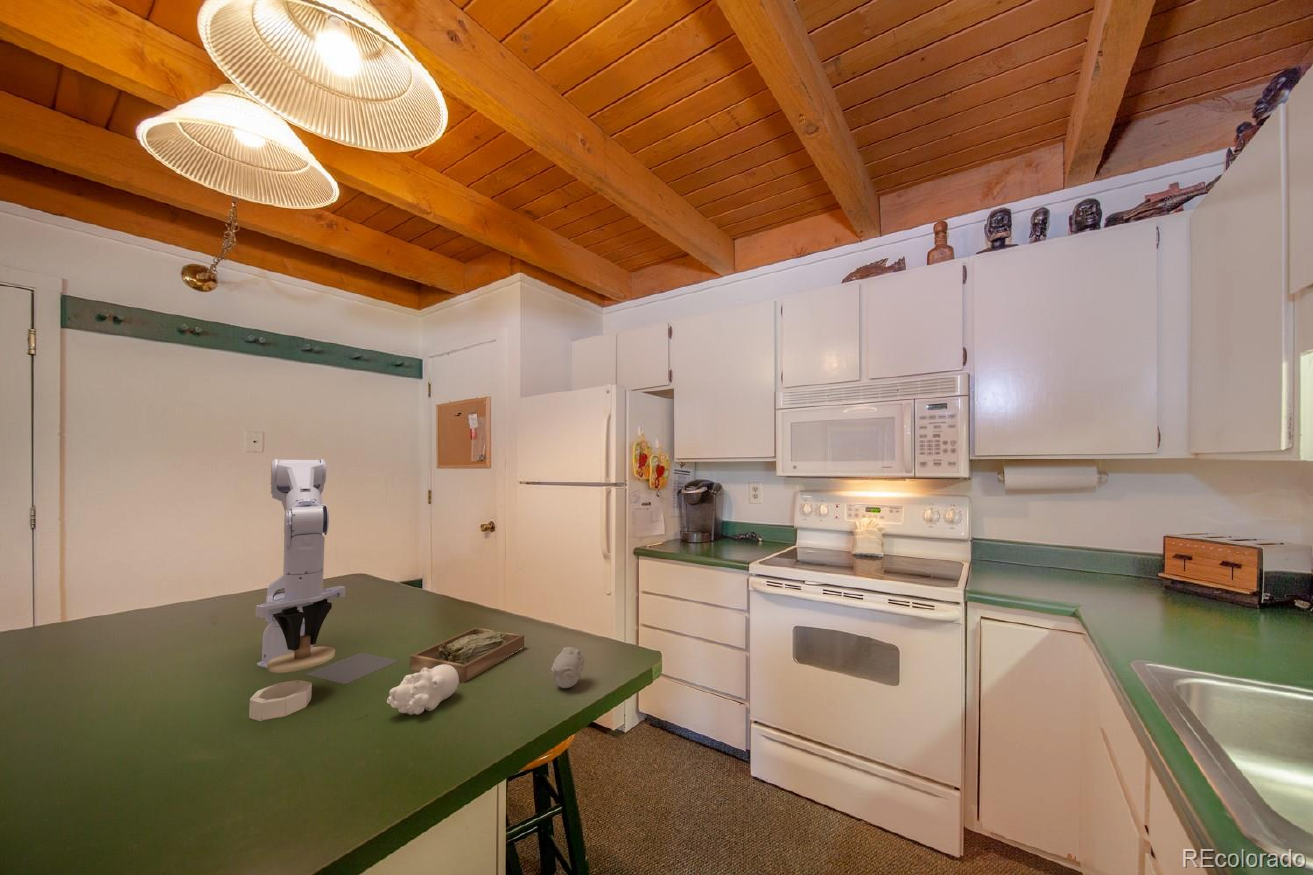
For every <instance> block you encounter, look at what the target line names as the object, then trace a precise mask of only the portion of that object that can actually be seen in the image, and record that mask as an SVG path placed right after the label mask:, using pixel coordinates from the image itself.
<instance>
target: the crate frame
mask: <svg viewBox="0 0 1313 875" xmlns="http://www.w3.org/2000/svg"><path fill="white" fill-rule="evenodd" d="M487 631H488V632H489V631H495V630H493V629H487V628H482V627H473V628H471V629H469V630H467V631H463V632H462V633H459V634H457V635H455V636H452V637H450V638H447V639H445V640H442V641H440V642H438V643H436V644H434V645H431V646H429V647H427V648H425V649H422V650H420V651H417V652H415V653H413V654H411V655H409V670H410V671H415V672H418V673H420V671H421V669H422V668H428V669H432V668H434V667H436V666H438V665H442V664H446V665H450V666H452V667H453V668H455V670H456V671H457V673H458V676H459V682H460V683H466V682H467V681H469V680H471V679H473V678H475V677H476V675H477V676H478V675H480V674H482V673H484V672H486V671H487V670H489V669H491V668H492V667H494V666H496V665H498V664H499V663H498V662H500V661H501V662H503V661H505V660H506V659H505V658H507V657H508V656H510V655H511V654H512V653H515V652H516V651H518V650H519V649H520V648H522V647H523V646H524V647H525V635H524V634H518V633H511V632H506V631H499V630H496V633H497V632H502V633H503V632H505V637H503V639H504V641H506V643H505V644H503V645H501V646H499V647H497V648H495V649H493V650H492V651H490V652H488V653H486V654H484V655H482V656H480V657H478V658H476V659H474V660H472V661H470V662H468V663H466V664H464V665H463V664H458V663H453V662H448V661H444V660H443V659H440V658H441V657H442V656H439V657H438V654H437V653H438V648H439V647H440V645H441V644H442V643H446V644H447V645H448V644H451V643H453V642H454V641H456V640H458V639H460V638H463V637H465V636H468V635H472V634H473V635H476V634H483V633H484V632H487ZM510 657H511V656H510ZM508 658H509V657H508ZM508 658H507V659H508ZM504 659H505V660H504ZM502 660H503V661H502ZM501 662H500V663H501ZM497 663H498V664H497ZM495 664H496V665H495ZM493 665H494V666H493ZM488 668H489V669H488Z"/></svg>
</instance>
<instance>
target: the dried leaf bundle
mask: <svg viewBox="0 0 1313 875" xmlns="http://www.w3.org/2000/svg"><path fill="white" fill-rule="evenodd" d="M496 631H497V630H496V629H495V630H494V631H489V632H488V631H487V632H484V633H483V634H476V635H473V634H472V635H468V636H465V637H463V638H460V639H458V640H456V641H454V642H453V643H451V644H448V645H447V644H446V643H442V644H441V645H440V647H439V648H438V653H437V654H438V657H439V656H441V657H439V658H442V660H444V661H448V662H453V663H458V664H463V665H464V664H466V663H468V662H470V661H472V660H474V659H476V658H478V657H480V656H482V655H484V654H486V653H488V652H490V651H492V650H493V649H495V648H497V647H499V646H501V645H503V644H505V643H506V641H504V639H503V637H505V632H506V631H500V632H497V633H496ZM502 632H503V633H502Z"/></svg>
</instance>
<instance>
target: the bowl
mask: <svg viewBox="0 0 1313 875" xmlns="http://www.w3.org/2000/svg"><path fill="white" fill-rule="evenodd" d="M312 684H313V683H312V682H310V681H307V680H301V679H298V680H290V681H289V680H288V681H283V682H282V681H281V682H277V683H275V684H272V685H269V686H267V687H264V688H261V689H259V690H257V691H255V693H254V694H253V695H252V696H251V697H250V699H249V707H248V708H249V713H248V714H249V715H248V717H249V719H251V720H255V721H258V722H263V721H265V720H271V719H276V718H283V717H287V716H289V715H291V714H293V713H296V712H298V711H300V710H302V709H305V708H306V707H307V706H308V704H309V703H310V701H311V699H312V687H313V686H312Z"/></svg>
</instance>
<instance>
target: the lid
mask: <svg viewBox="0 0 1313 875" xmlns="http://www.w3.org/2000/svg"><path fill="white" fill-rule="evenodd" d="M335 656H336V649H335V647H331V646H313V647H311V635H302V636H300V646H299V649H298V650H295V651H292V652H288V653H285V654H282V655H280V656H277V657H275V658H273V659H271V660H270V661H269V662H268V663H267V668H266V669H267V671H268V672H270V673H292V672H297V671H302V670H306V669H310V668H314V667H316V666H317V667H318V666H319V665H322V664H325V663H327V662H329V661H330V660H332V659H333V658H335Z"/></svg>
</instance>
